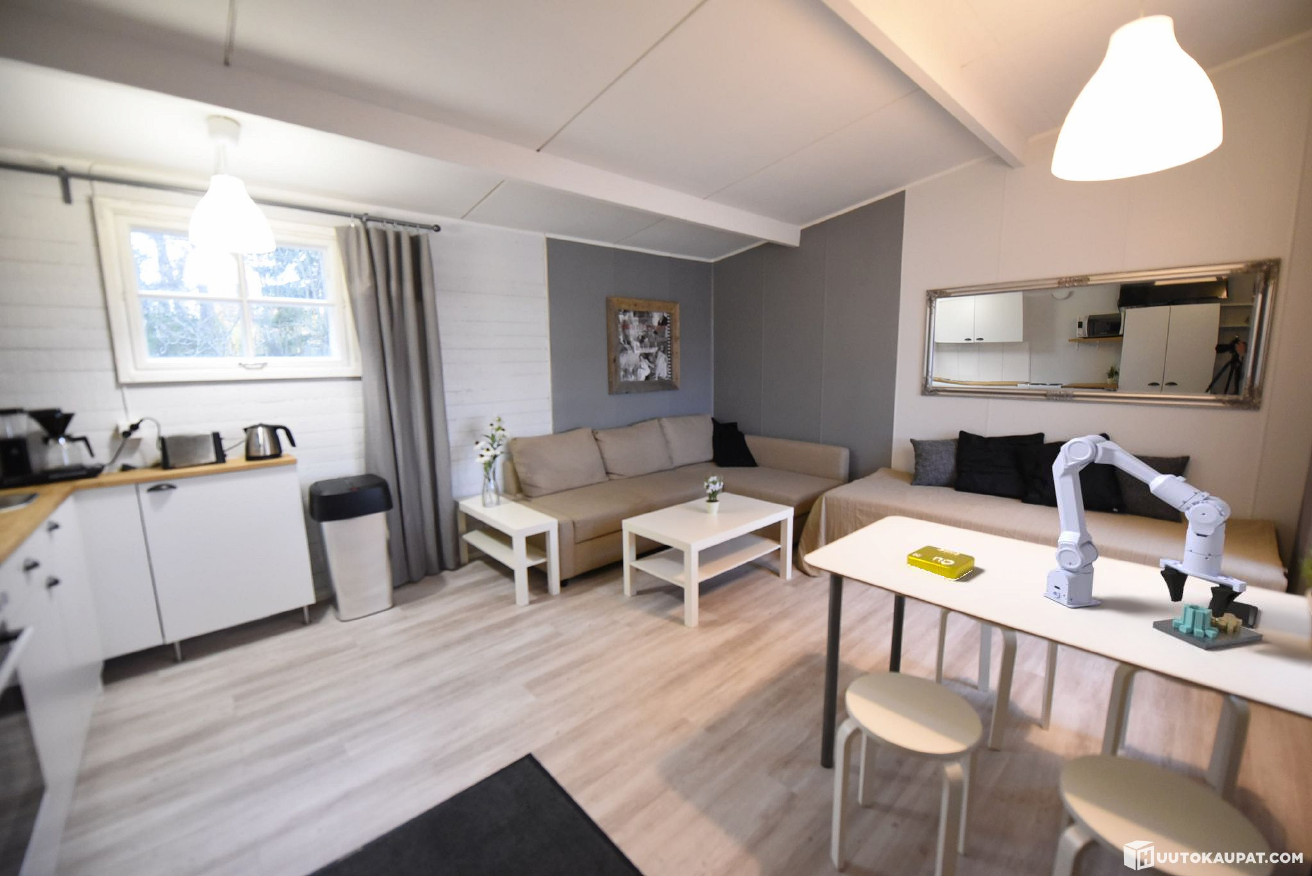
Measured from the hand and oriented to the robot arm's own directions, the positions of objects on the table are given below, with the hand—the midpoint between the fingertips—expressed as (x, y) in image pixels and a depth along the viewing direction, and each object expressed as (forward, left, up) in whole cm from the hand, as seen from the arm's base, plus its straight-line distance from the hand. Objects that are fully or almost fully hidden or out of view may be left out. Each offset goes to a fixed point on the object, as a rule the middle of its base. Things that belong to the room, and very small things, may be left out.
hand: (1196, 608), depth 114 cm
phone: (+21, +6, -7) cm, 23 cm away
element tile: (-26, +48, -7) cm, 55 cm away
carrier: (+4, 0, -7) cm, 7 cm away
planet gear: (0, 0, -5) cm, 5 cm away
